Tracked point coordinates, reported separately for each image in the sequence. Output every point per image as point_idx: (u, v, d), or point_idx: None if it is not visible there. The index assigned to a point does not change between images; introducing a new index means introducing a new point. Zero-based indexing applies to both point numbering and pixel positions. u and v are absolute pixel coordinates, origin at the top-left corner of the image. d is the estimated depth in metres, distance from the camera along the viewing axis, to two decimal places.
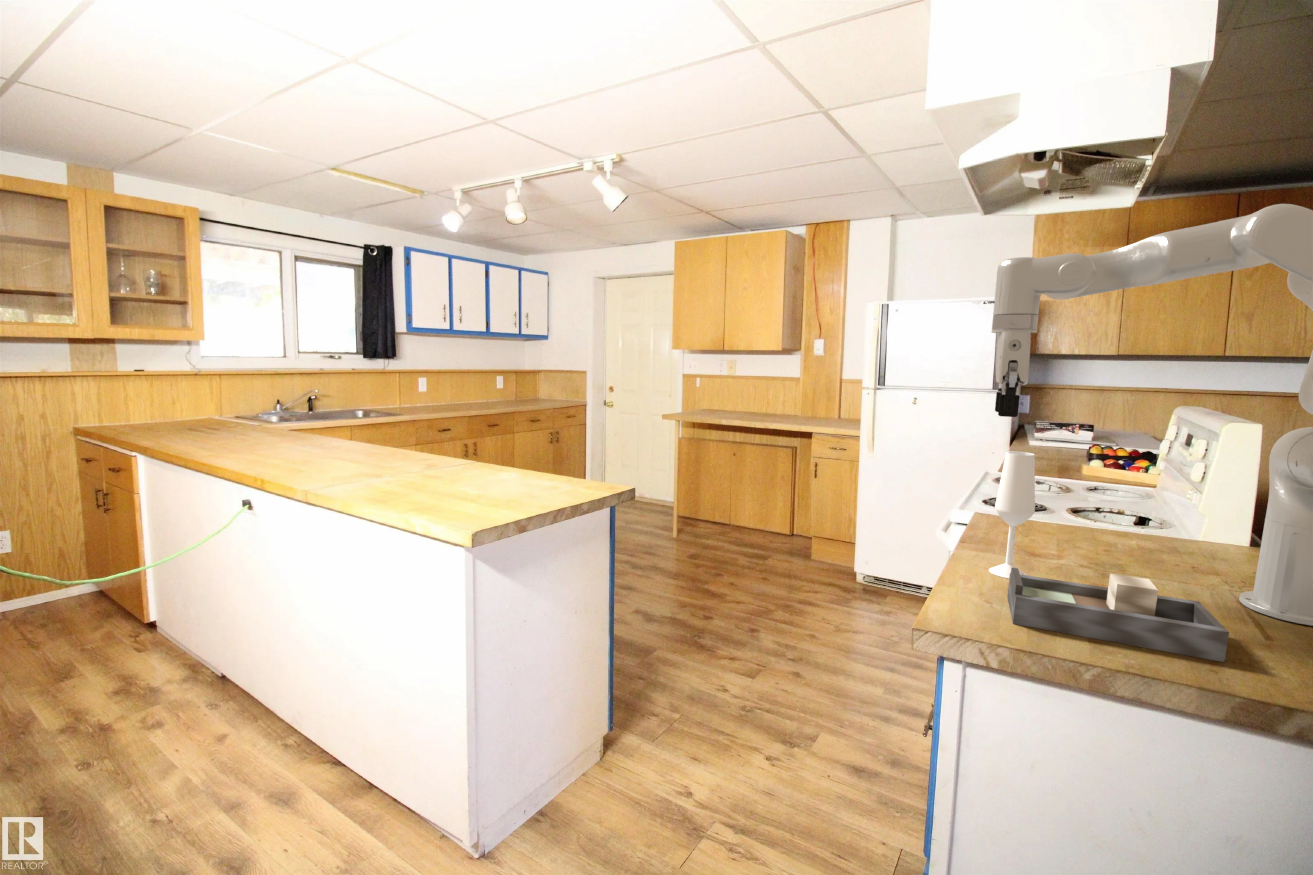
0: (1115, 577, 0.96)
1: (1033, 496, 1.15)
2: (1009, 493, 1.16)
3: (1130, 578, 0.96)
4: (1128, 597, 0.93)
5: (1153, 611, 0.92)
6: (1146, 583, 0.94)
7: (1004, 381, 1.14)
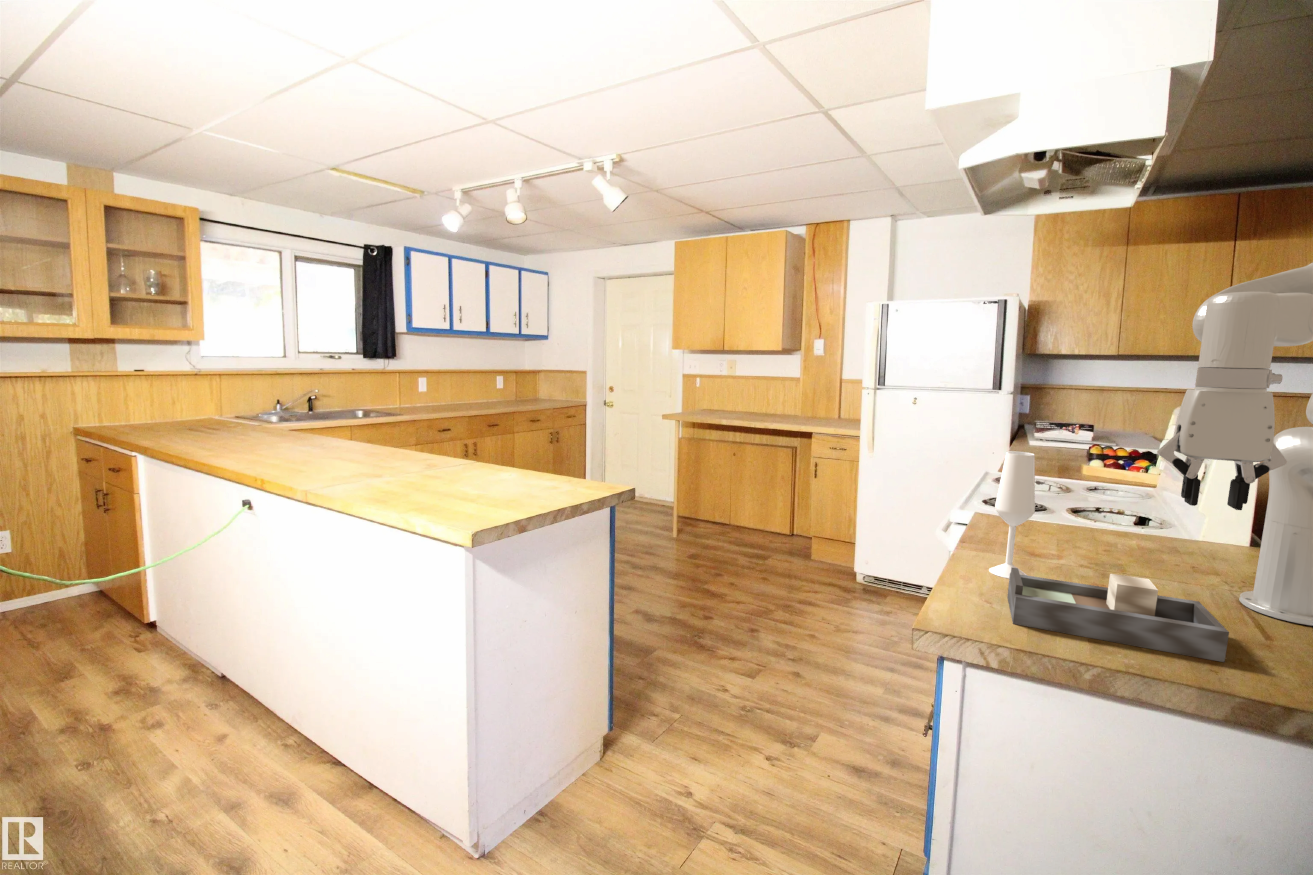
0: (1115, 577, 0.96)
1: (1033, 496, 1.15)
2: (1009, 493, 1.16)
3: (1130, 578, 0.96)
4: (1128, 597, 0.93)
5: (1153, 611, 0.92)
6: (1146, 583, 0.94)
7: None
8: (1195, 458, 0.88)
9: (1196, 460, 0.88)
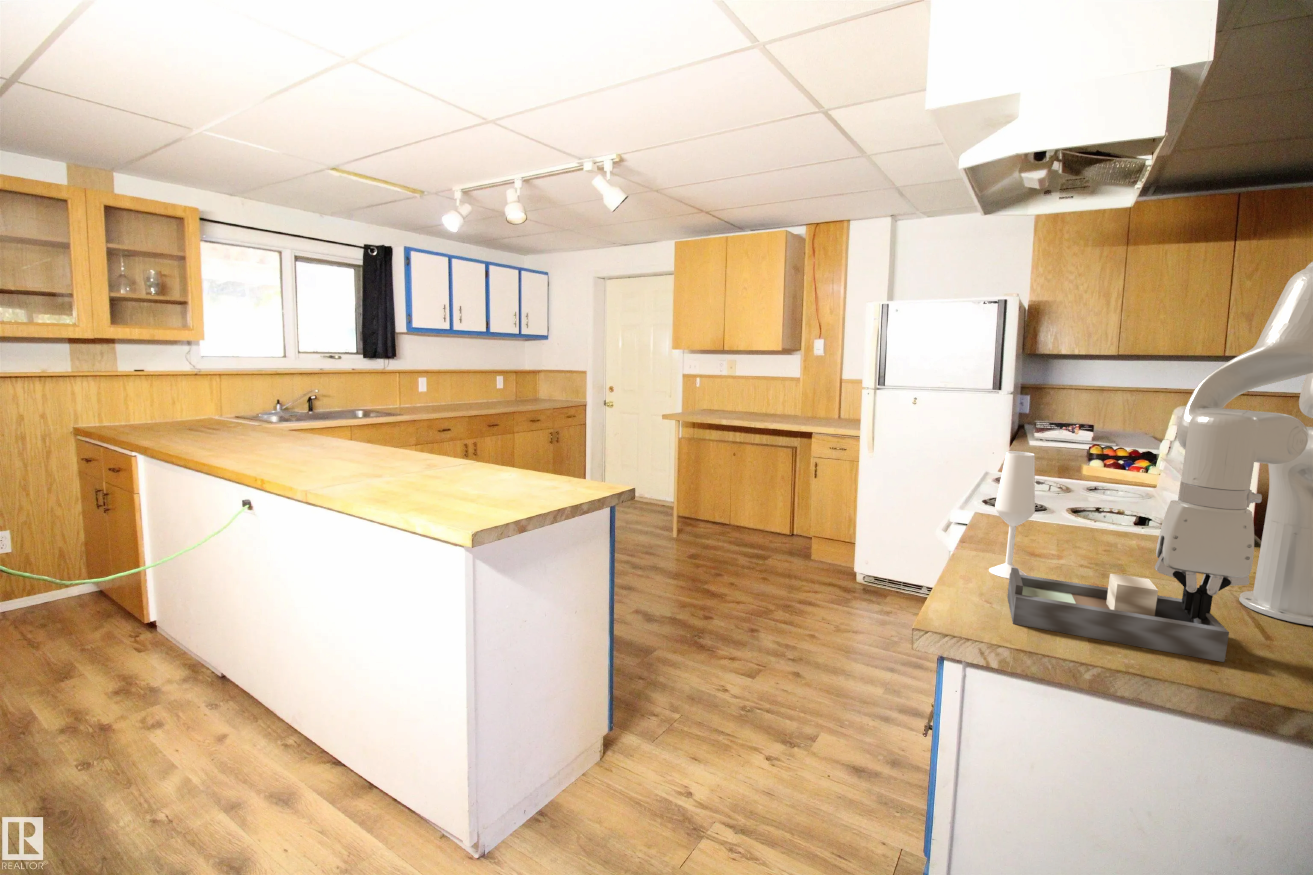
0: (1115, 577, 0.96)
1: (1033, 496, 1.15)
2: (1009, 493, 1.16)
3: (1130, 578, 0.96)
4: (1128, 597, 0.93)
5: (1153, 611, 0.92)
6: (1146, 583, 0.94)
7: None
8: (1187, 572, 0.90)
9: (1189, 574, 0.90)
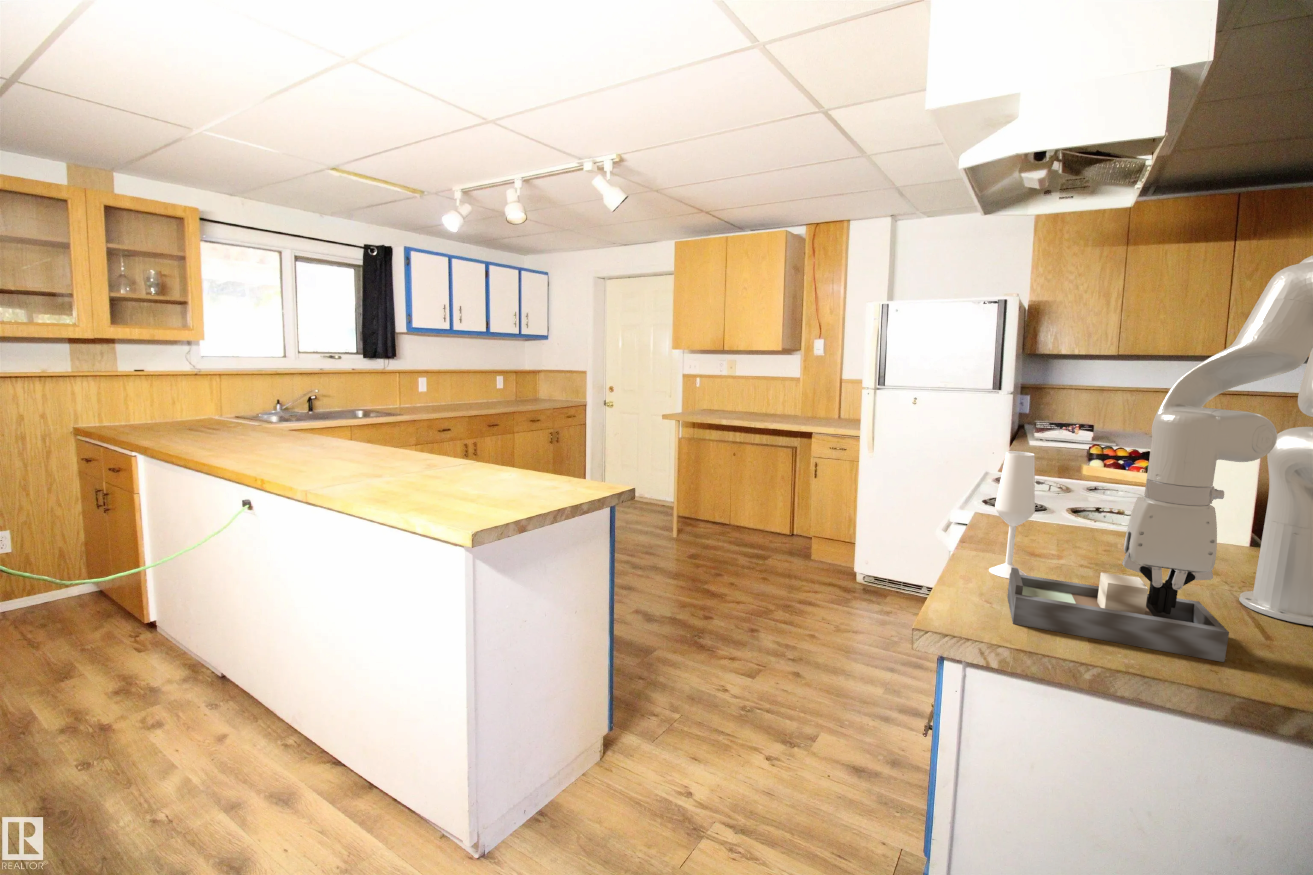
0: (1105, 575, 0.97)
1: (1033, 496, 1.15)
2: (1009, 493, 1.16)
3: (1121, 577, 0.96)
4: (1118, 596, 0.93)
5: (1143, 609, 0.92)
6: (1136, 581, 0.94)
7: None
8: (1153, 568, 0.92)
9: (1155, 569, 0.92)
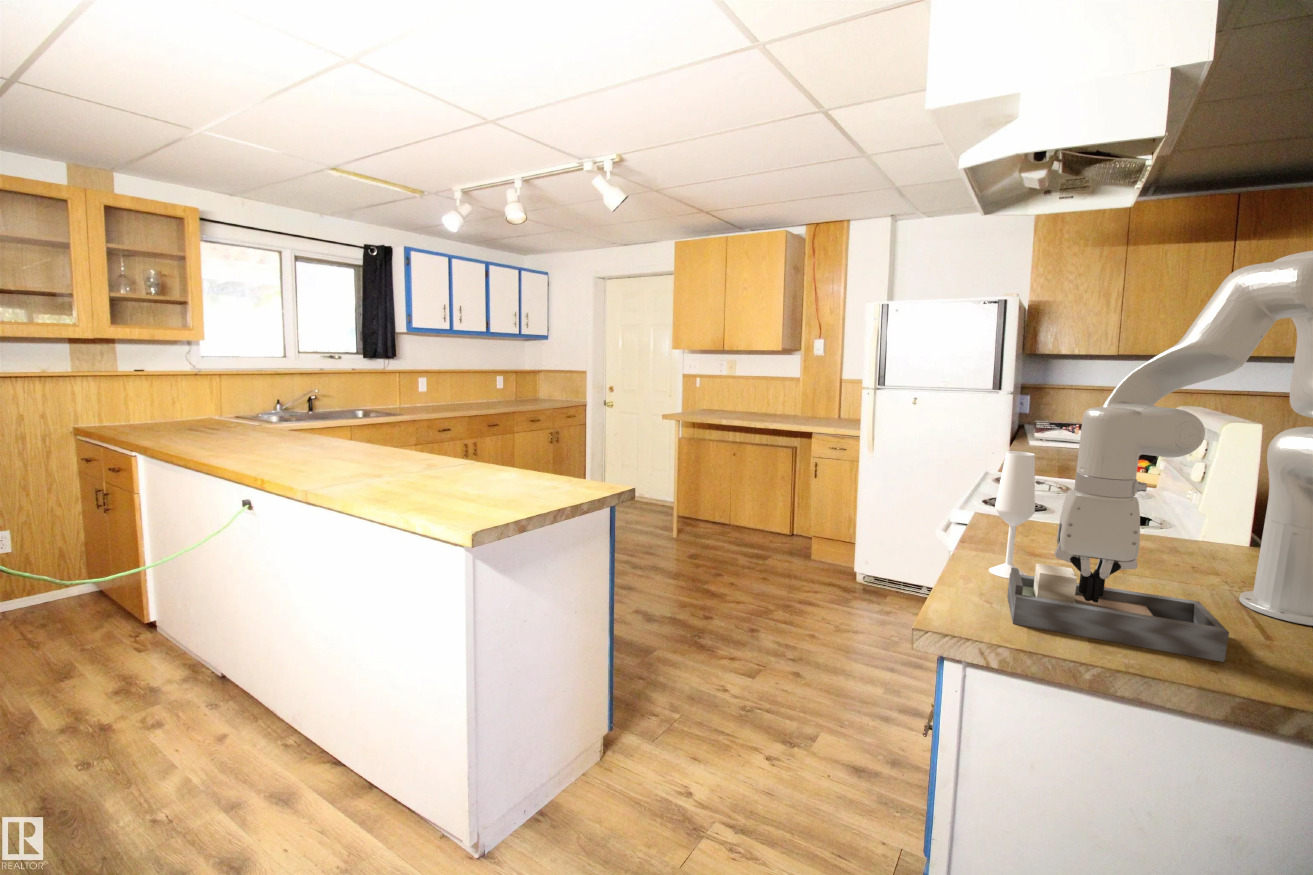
0: (1039, 566, 1.01)
1: (1033, 496, 1.15)
2: (1009, 493, 1.16)
3: (1054, 567, 1.00)
4: (1050, 585, 0.97)
5: (1073, 598, 0.96)
6: (1068, 571, 0.98)
7: None
8: (1082, 558, 0.96)
9: (1083, 559, 0.96)
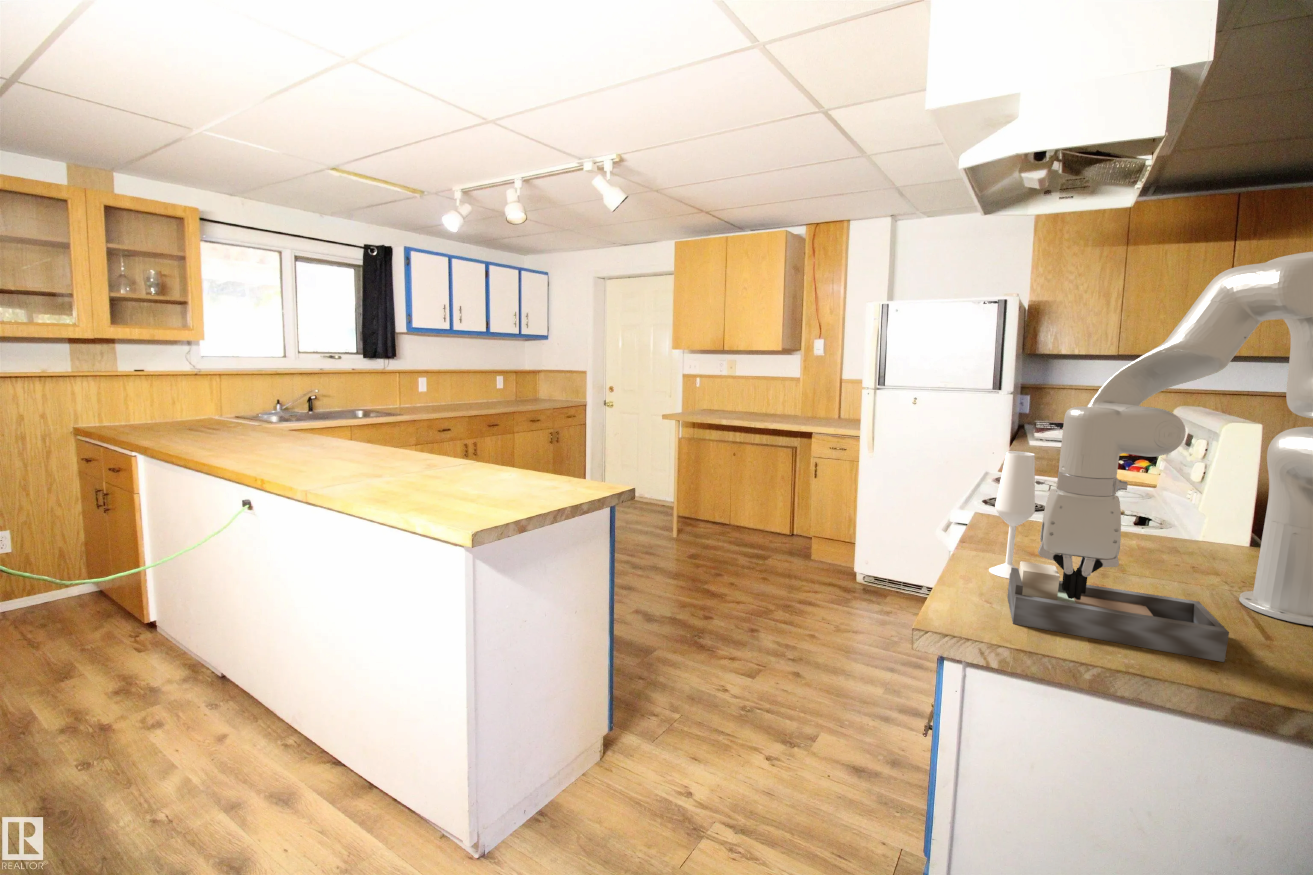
0: (1023, 564, 1.02)
1: (1033, 496, 1.15)
2: (1009, 493, 1.16)
3: (1038, 565, 1.01)
4: (1033, 583, 0.98)
5: (1055, 596, 0.97)
6: (1051, 569, 0.99)
7: None
8: (1064, 556, 0.97)
9: (1066, 557, 0.97)
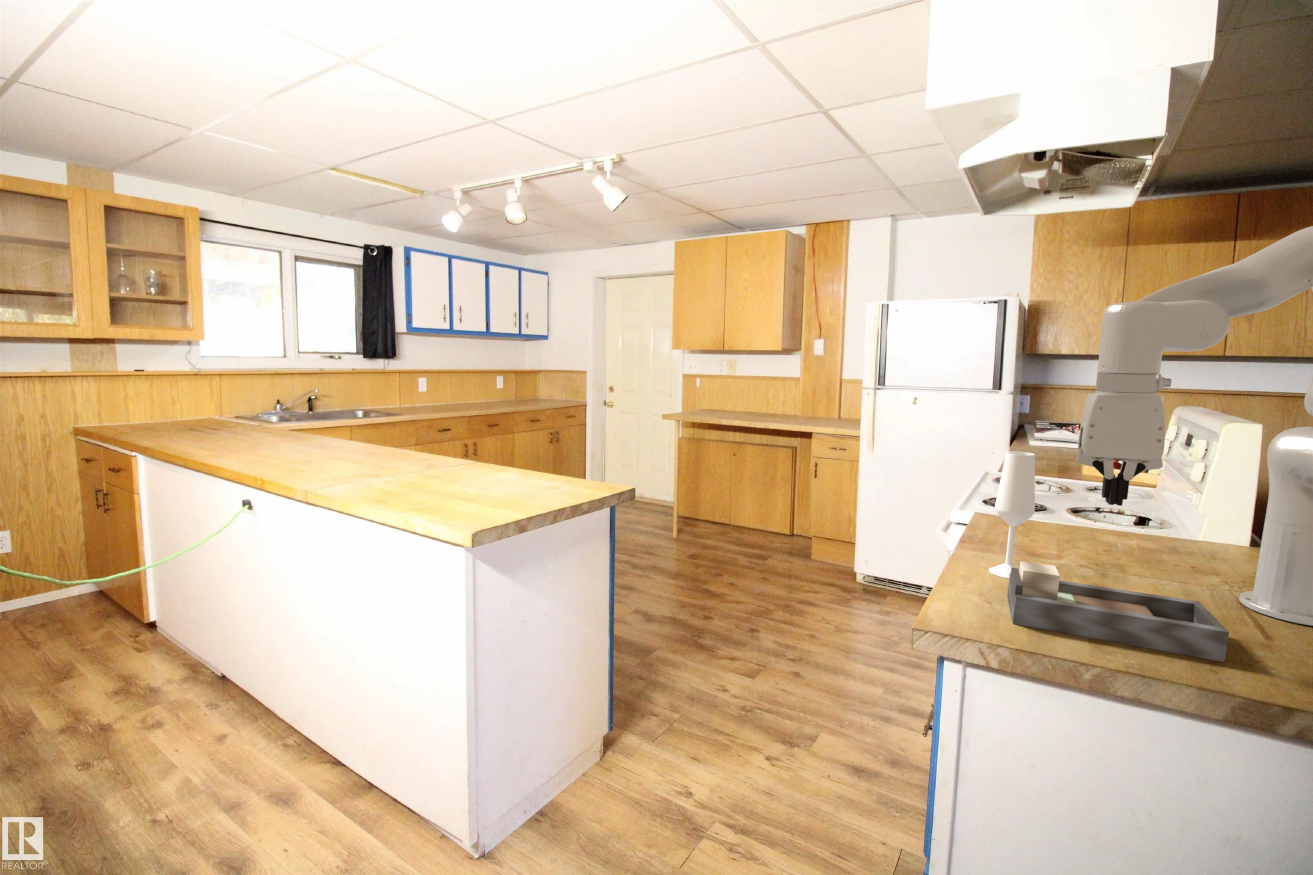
0: (1023, 564, 1.02)
1: (1033, 496, 1.15)
2: (1009, 493, 1.16)
3: (1038, 565, 1.01)
4: (1033, 583, 0.98)
5: (1055, 596, 0.97)
6: (1051, 569, 0.99)
7: None
8: (1104, 460, 0.93)
9: (1106, 461, 0.93)
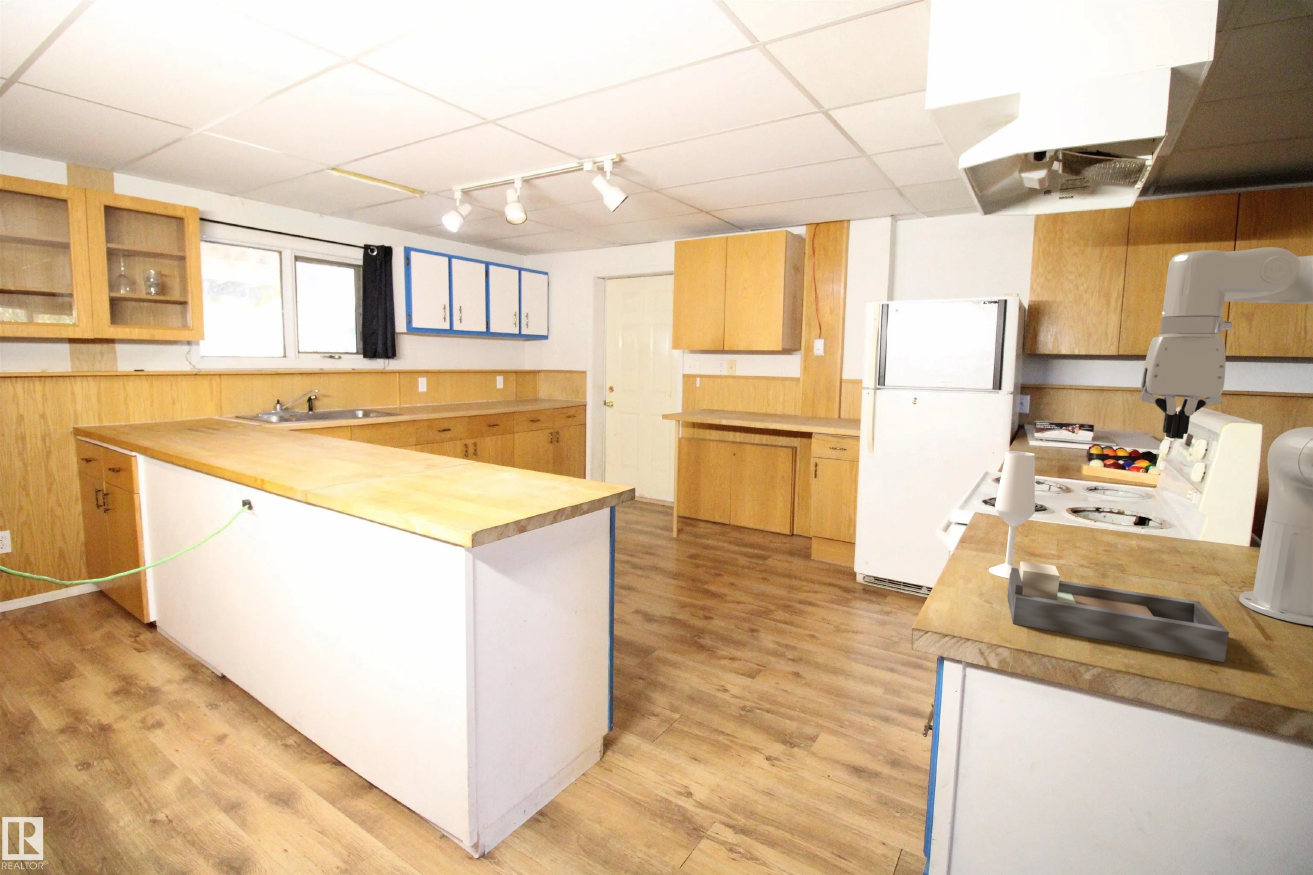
0: (1023, 564, 1.02)
1: (1033, 496, 1.15)
2: (1009, 493, 1.16)
3: (1038, 565, 1.01)
4: (1033, 583, 0.98)
5: (1055, 596, 0.97)
6: (1051, 569, 0.99)
7: None
8: (1167, 397, 1.02)
9: (1169, 398, 1.02)
